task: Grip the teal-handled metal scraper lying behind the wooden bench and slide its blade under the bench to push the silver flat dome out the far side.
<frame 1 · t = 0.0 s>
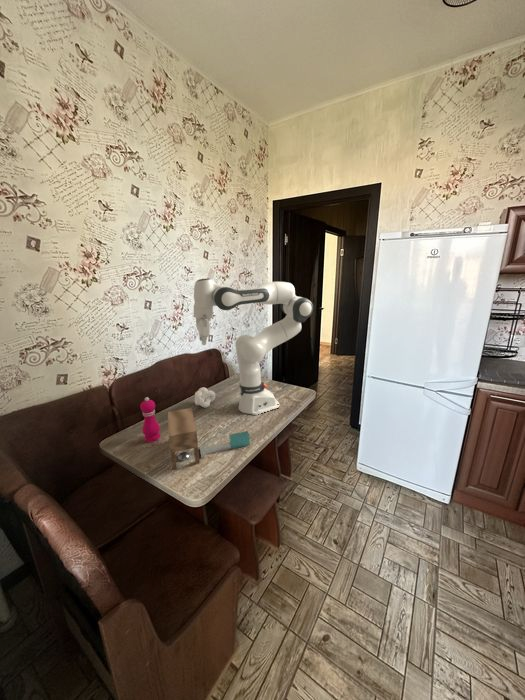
hand: (202, 342, 134), 39 cm above the table, tool pointing down, fingers open, 8 cm apart
silver flat dome: (184, 457, 111), on the table
scraper: (225, 448, 116), on the table
white knot: (203, 404, 157), on the table
wooden bench: (184, 451, 115), on the table
pepper mill: (152, 438, 125), on the table
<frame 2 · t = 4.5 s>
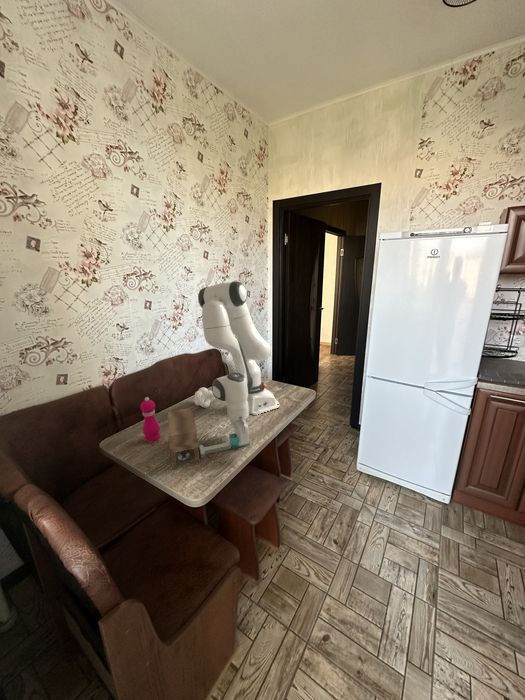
hand: (239, 441, 118), 2 cm above the table, tool pointing down, fingers closed on scraper, 3 cm apart
scraper: (225, 447, 116), on the table, touching gripper
everything else where it was.
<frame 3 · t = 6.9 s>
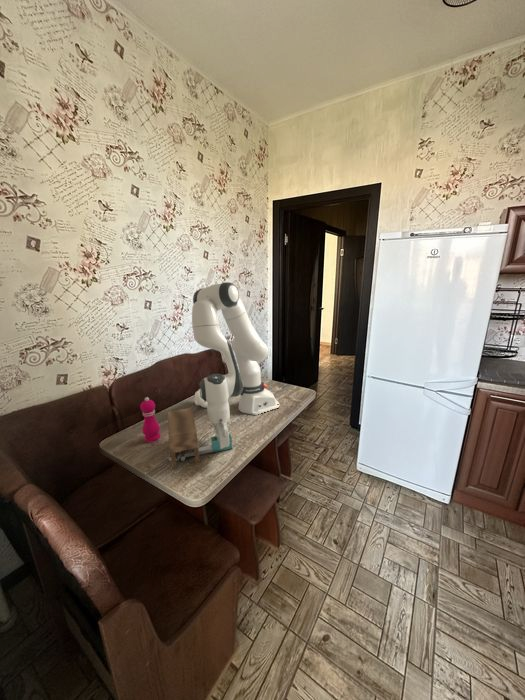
hand: (220, 444, 115), 2 cm above the table, tool pointing down, fingers closed on scraper, 3 cm apart
silver flat dome: (174, 459, 110), on the table
scraper: (207, 451, 114), on the table, touching gripper
everything else where it was.
when the fingers open (2 cm above the table, at t = 9.0 s): scraper stays where it is, on the table.
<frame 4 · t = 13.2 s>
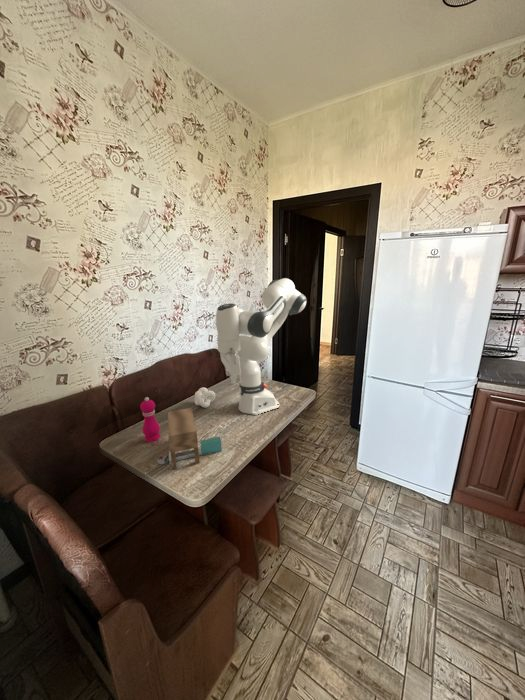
hand: (230, 378, 113), 29 cm above the table, tool pointing down, fingers open, 8 cm apart
silver flat dome: (163, 461, 109), on the table
scraper: (196, 454, 113), on the table
everything else where it was.
at the end: silver flat dome inside the target area (4.7 cm from its centre), on the table; the gripper is holding nothing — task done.
